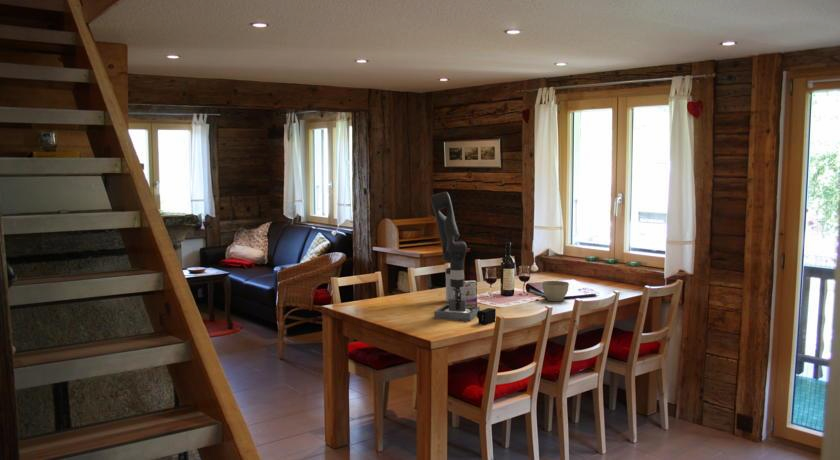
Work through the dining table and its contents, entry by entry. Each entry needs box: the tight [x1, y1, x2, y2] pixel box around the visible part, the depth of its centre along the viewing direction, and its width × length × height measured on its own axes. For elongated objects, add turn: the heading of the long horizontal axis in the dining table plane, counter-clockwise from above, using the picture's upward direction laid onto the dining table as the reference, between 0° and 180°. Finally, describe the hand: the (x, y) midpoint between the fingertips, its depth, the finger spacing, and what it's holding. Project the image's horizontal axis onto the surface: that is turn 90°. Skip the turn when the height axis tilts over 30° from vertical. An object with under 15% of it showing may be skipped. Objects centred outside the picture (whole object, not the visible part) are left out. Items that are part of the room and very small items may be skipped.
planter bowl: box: [541, 280, 570, 302], centre depth 426 cm, size 16×16×11 cm
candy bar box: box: [460, 280, 478, 307], centre depth 400 cm, size 11×5×16 cm, turn 101°
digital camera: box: [476, 307, 497, 326], centre depth 367 cm, size 10×5×7 cm, turn 142°
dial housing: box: [433, 303, 481, 322], centre depth 383 cm, size 20×20×4 cm
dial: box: [445, 299, 470, 313], centre depth 382 cm, size 14×14×7 cm
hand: (457, 308), depth 383 cm, fingers open, 4 cm apart
